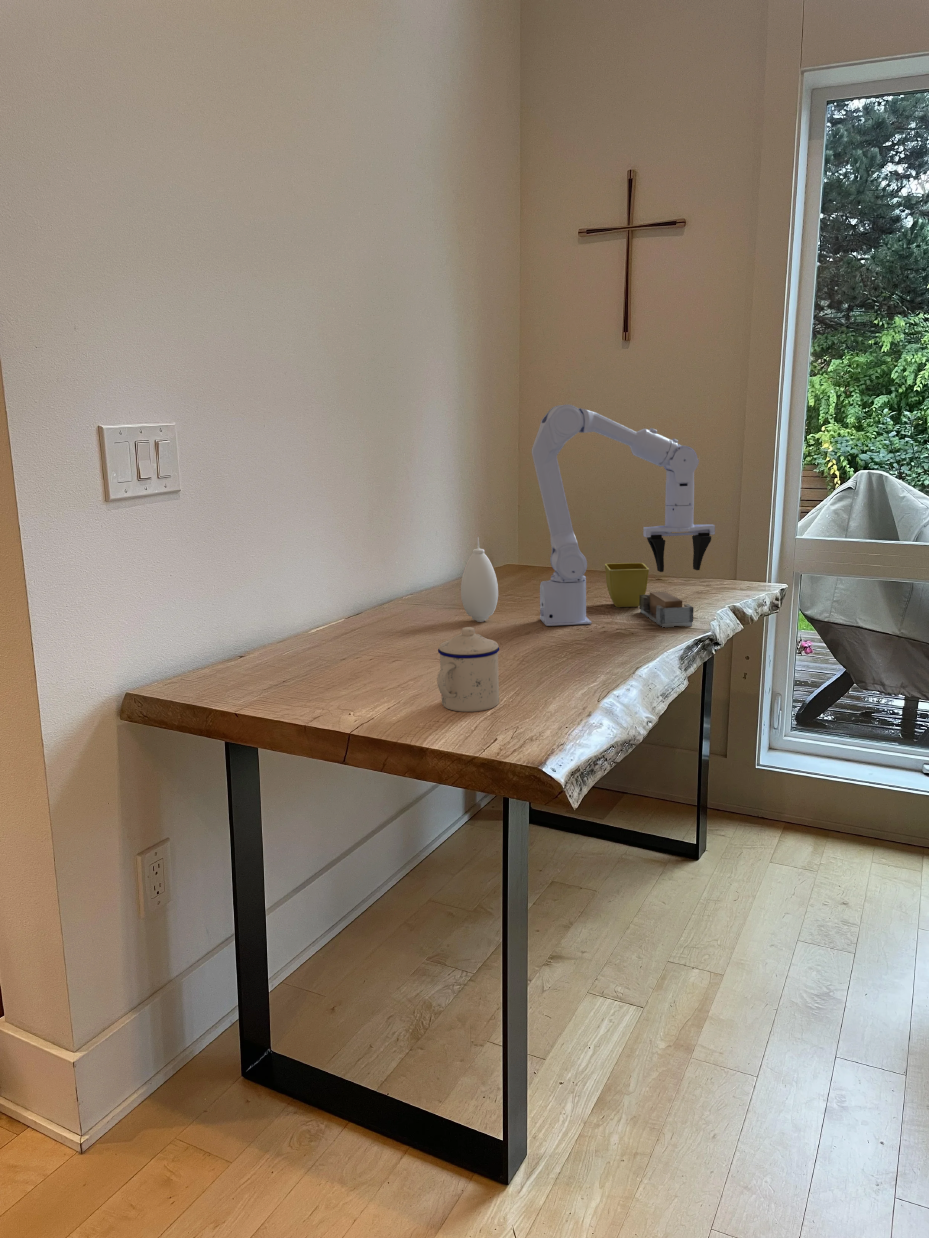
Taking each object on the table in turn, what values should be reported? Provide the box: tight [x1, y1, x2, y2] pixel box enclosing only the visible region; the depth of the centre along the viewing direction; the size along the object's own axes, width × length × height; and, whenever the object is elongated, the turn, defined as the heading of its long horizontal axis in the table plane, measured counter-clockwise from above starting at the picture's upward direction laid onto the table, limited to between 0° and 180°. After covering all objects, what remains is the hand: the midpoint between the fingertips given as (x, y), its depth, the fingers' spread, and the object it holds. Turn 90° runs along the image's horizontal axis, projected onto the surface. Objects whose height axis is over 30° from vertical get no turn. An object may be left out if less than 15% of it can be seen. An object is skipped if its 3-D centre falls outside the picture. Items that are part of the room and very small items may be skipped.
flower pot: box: [604, 562, 650, 608], centre depth 209 cm, size 9×9×9 cm
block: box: [649, 590, 683, 614], centre depth 194 cm, size 4×11×4 cm, turn 5°
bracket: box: [638, 594, 694, 628], centre depth 194 cm, size 7×16×4 cm, turn 5°
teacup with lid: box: [436, 626, 500, 713], centre depth 138 cm, size 12×9×12 cm
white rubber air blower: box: [460, 537, 499, 623], centre depth 196 cm, size 8×8×18 cm
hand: (678, 570), depth 194 cm, fingers open, 7 cm apart
